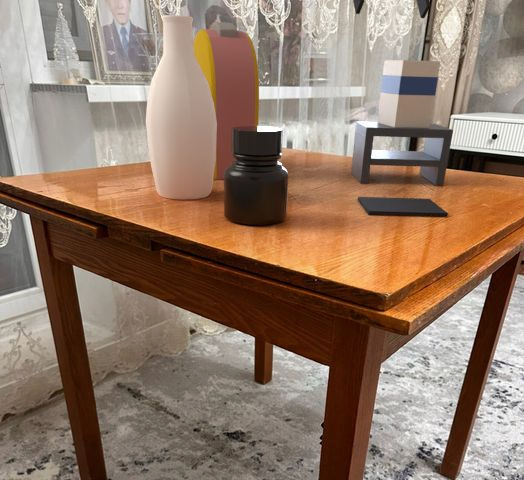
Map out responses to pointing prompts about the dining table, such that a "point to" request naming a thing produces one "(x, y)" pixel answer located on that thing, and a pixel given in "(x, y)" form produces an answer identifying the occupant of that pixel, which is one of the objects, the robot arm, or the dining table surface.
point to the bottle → (181, 118)
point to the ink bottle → (256, 177)
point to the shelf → (428, 160)
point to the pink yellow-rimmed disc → (229, 83)
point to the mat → (401, 207)
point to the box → (408, 93)
